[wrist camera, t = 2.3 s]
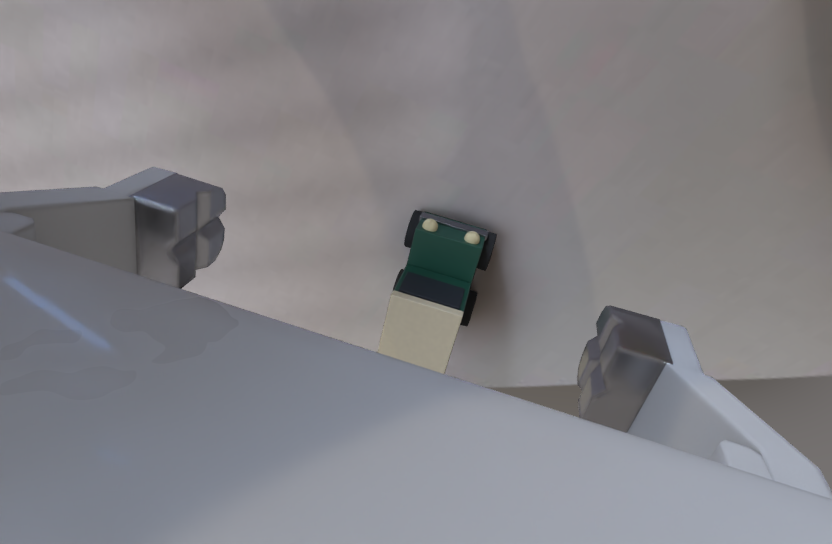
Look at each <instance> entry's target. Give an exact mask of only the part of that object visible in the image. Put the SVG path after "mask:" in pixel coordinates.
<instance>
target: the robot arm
mask: <svg viewBox="0 0 832 544" xmlns="http://www.w3.org/2000/svg"><path fill="white" fill-rule="evenodd" d="M225 210H226V194H225V192H224V190H223V189H222V188H220V187H217V186H214V185H211V184H208V183H205V182H202V181H199V180H195V179H192V178H189V177H186V176H183V175H179V174H178V173H176V172H172V171H168V170H164V169H160V168H156V167H151V168H149V169H147V170H144V171H142V172H140V173H138V174H135V175H133V176H131V177H129V178H126V179H124V180H122V181H120V182H117V183H115V184H113V185H111V186H108V187H106V188H104V189H103V188H100V187H81V188H65V189H49V190H33V191H17V192H1V193H0V544H832V491H831V489H830V487H829V485H828V483H827V481H826V479H825V478H824V476H823V474H822V472H821V470H820V468H819V467H817V466H816V465H815V464H814V463H813V462H811V461H810V460H809V459H808V458H807V457H806V456H804V455H803V454H802V453H801V452H800V451H798V450H797V449H796V448H795V447H794V446H793V445H791V444H790V443H789V442H788V441H787V440H785V439H784V438H783V437H782V436H781V435H780V434H778V433H777V432H776V431H775V430H774V429H772V428H771V427H770V426H769V425H768V424H767V423H766V422H764V421H763V420H762V419H761V418H760V417H758V416H757V415H756V414H755V413H754V412H752V411H751V410H750V409H749V408H748V407H747V406H745V405H744V404H743V403H742V402H741V401H739V400H738V399H737V398H736V397H735V396H734V395H733V394H731V393H730V392H729V391H728V390H727V389H725V388H724V387H723V386H722V385H721V384H719V383H718V382H717V381H716V380H715V379H714V378H713V377H710V376H707V375H704V373H703V371H702V368H701V366H700V363H699V360H698V358H697V355H696V353H695V350H694V347H693V345H692V342H691V339H690V337H689V334H688V332H687V329H686V328H685V327H683V326H681V325H677V324H673V323H669V322H665V321H661V320H660V319H657V318H653V317H649V316H646V315H642V314H639V313H635V312H632V311H628V310H624V309H621V308H617V307H614V306H606V307H605V308H604V309H603V311H602V312H601V314H600V316H599V318H598V321H597V323H596V325H597V336H596V337H594V338H593V339H591V340H589V341H588V342H587V344H586V347H585V349H584V351H583V354H582V357H581V360H580V364H579V367H578V375H577V381H578V386H579V387H580V388H581V390H582V393H581V395H580V398H579V399H578V402H579V417H575V416H572V415H569V414H566V413H563V412H560V411H557V410H554V409H551V408H548V407H545V406H541V405H538V404H535V403H532V402H529V401H526V400H523V399H520V398H516V397H514V396H510V395H507V394H504V393H501V392H498V391H495V390H492V389H489V388H486V387H483V386H479V385H476V384H473V383H470V382H467V381H464V380H461V379H458V378H455V377H452V376H448V375H445V374H442V373H439V372H436V371H433V370H430V369H427V368H424V367H421V366H417V365H414V364H411V363H408V362H405V361H402V360H399V359H396V358H393V357H390V356H387V355H383V354H380V353H377V352H374V351H371V350H368V349H365V348H362V347H359V346H356V345H353V344H349V343H346V342H343V341H340V340H337V339H334V338H331V337H328V336H325V335H322V334H319V333H316V332H312V331H309V330H306V329H303V328H300V327H297V326H294V325H291V324H288V323H285V322H282V321H278V320H275V319H272V318H269V317H266V316H263V315H260V314H257V313H254V312H251V311H248V310H245V309H241V308H238V307H235V306H232V305H229V304H226V303H223V302H220V301H217V300H214V299H211V298H208V297H204V296H201V295H198V294H195V293H192V292H189V291H186V290H183V289H181V288H182V287H184V286H185V285H186V284H187V283H189V282H190V281H191V280H192V279H194V278H195V274H196V270H197V269H201V268H206V267H208V266H209V265H211V264H212V263H213V262H214V261H215V260H216V258H217V256H218V255H219V253H220V251H221V249H222V245H223V241H224V231H225V228H224V226H223V224H222V223H221V221H220V219H219V216H220V215H221V214H222V213H223V212H224V211H225Z"/></svg>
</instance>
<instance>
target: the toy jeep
mask: <svg viewBox="0 0 832 544" xmlns="http://www.w3.org/2000/svg"><path fill="white" fill-rule="evenodd" d="M496 236H497V235H496V234H495V233H491V232H488V231H487V230H485V229H482V228H479V227H475V226H472V225H468V224H465V223H462V222H458V221H455V220H452V219H448V218H445V217H441V216H438V215H435V214H431V213H428V212H421V211H417V210H415V211H414V213H413V215H412V217H411V220H410V222H409V225H408V229H407V232H406V237H405V242H404V245H405V247H409V248H411V250H410V254H409V258H408V262H407V265H406V267H405V269H404V270H403V269H401V270H400V272H399V274H398V276H397V279H396V282H395V285H394V288H393V292H392V294H391V297H390V301H389V305H388V309H387V314H386V318H385V322H384V326H383V331H382V335H381V339H380V343H379V348H378V352H377V353H380V354H383V355H387V356H390V357H393V358H396V359H399V360H402V361H405V362H408V363H411V364H414V365H417V366H421V367H424V368H427V369H430V370H433V371H436V372H439V373H442V374H444V373H445V370H446V367H447V364H448V361H449V358H450V354H451V351H452V348H453V345H454V342H455V339H456V336H457V333H458V329H459V326H460V325H463V326H468V323H469V321H470V318H471V314H472V311H473V308H474V305H475V301H476V297H477V292H475V291H472V290H470V287H471V283H472V280H473V277H474V274H475V271H476V268H478V269H481V270H486V268H487V266H488V263H489V260H490V257H491V254H492V250H493V247H494V244H495V240H496Z"/></svg>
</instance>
